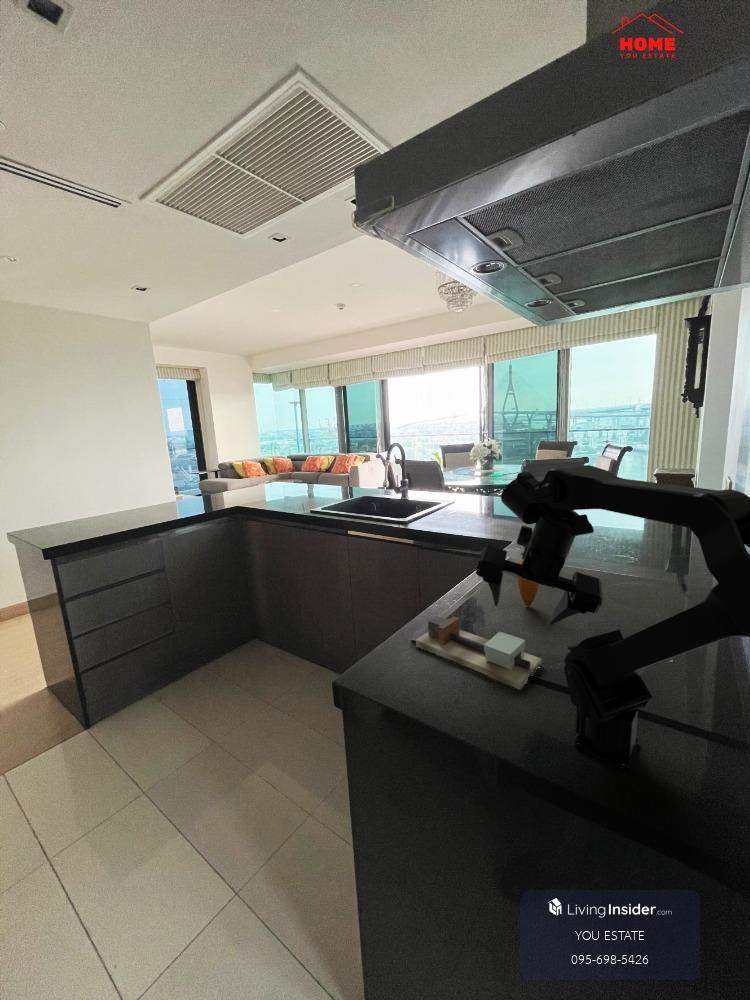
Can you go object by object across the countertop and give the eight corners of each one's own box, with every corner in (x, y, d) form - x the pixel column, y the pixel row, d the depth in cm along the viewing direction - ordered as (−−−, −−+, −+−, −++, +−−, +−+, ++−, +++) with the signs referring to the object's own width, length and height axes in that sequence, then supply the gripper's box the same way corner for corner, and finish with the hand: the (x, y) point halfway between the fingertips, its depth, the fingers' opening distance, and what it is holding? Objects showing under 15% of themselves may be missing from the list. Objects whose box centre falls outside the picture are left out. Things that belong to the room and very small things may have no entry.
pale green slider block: (525, 656, 76) (525, 640, 75) (510, 671, 72) (510, 654, 71) (499, 646, 79) (499, 631, 79) (483, 660, 75) (483, 644, 74)
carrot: (540, 612, 96) (541, 550, 93) (517, 610, 97) (518, 549, 94) (537, 603, 101) (539, 543, 98) (516, 601, 102) (517, 543, 99)
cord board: (541, 666, 76) (542, 640, 75) (520, 690, 69) (520, 663, 68) (441, 629, 91) (440, 607, 90) (416, 646, 84) (415, 623, 83)
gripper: (613, 531, 67) (580, 600, 75) (497, 500, 72) (478, 568, 80) (619, 573, 58) (580, 646, 66) (486, 534, 63) (466, 606, 71)
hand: (523, 613), depth 71 cm, fingers open, 9 cm apart
